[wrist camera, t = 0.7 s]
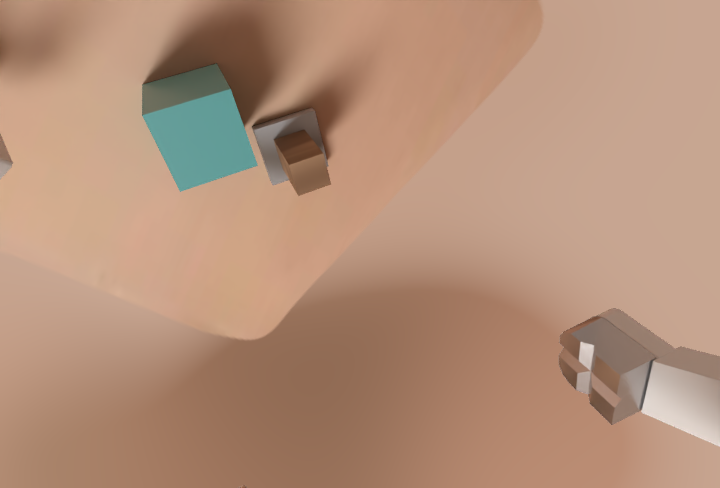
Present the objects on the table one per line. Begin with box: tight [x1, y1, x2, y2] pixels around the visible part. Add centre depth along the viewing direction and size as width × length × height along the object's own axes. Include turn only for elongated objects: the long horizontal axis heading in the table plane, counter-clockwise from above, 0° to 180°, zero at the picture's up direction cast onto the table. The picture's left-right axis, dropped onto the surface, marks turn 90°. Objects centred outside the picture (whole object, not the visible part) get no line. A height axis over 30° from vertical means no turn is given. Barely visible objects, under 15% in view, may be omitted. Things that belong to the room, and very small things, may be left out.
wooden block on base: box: [252, 108, 331, 196], centre depth 35 cm, size 5×5×6 cm
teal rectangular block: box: [142, 63, 258, 192], centre depth 30 cm, size 5×5×7 cm
